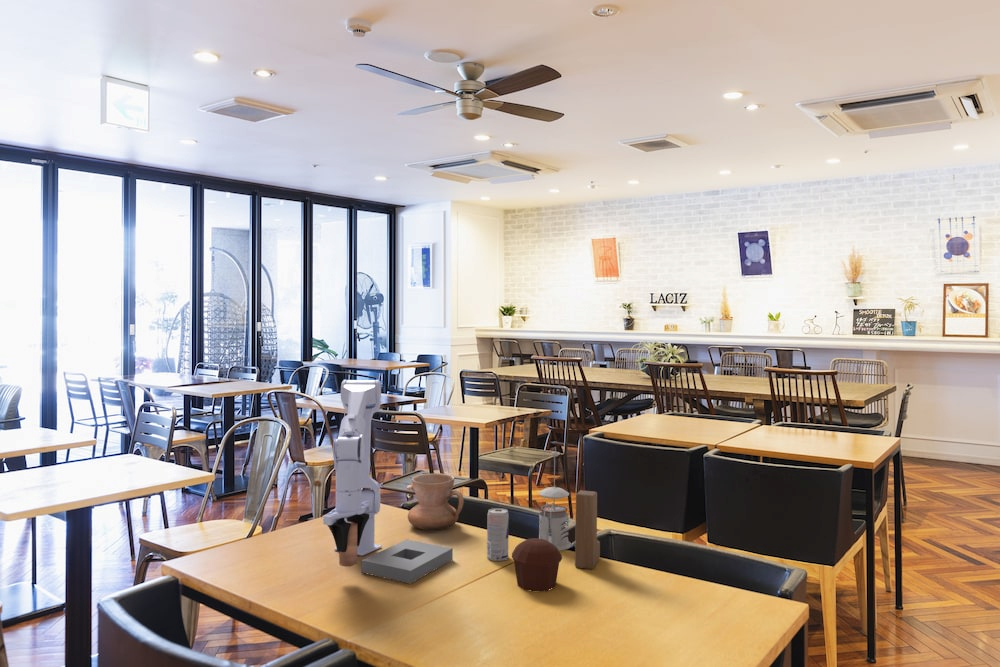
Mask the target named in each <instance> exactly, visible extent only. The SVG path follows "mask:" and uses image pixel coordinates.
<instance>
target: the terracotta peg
mask: <svg viewBox="0 0 1000 667" xmlns="http://www.w3.org/2000/svg"><path fill="white" fill-rule="evenodd" d="M348 523H351V526H350V529H349V533H348V540H347V550H346V552H339V551H338V552H339V554H338V556H339V557H338V558H339V559H338V564H339V566H340V567H348V568H349V567H354V566H356V565H357V564H358V555H357V523H356V522H348Z"/></svg>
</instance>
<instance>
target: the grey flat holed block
mask: <svg viewBox="0 0 1000 667" xmlns="http://www.w3.org/2000/svg"><path fill="white" fill-rule="evenodd" d="M453 553H454V552H453V547H450V546H448V547H447V546H442V545H439V544H438V545H437V544H434V543H433V544H432V543H427V542H422V541H421V542H420V541H417V540H411V539H405V540H404V539H403V541H400V542H398V543H396V544H394V545H391V546H390V547H388V548H385V549H382V550H381V551H379V552H376V553H374V554H372V555H370V556H368V557H365V558H363V559H362V560H361V573H362V572H363V573H362V574H364V573H368V574H367V575H369V574H373V575H376V576H375V577H378V576H380V577H379V578H382V577H385V578H384V579H387V578H388V579H387V580H391V579H393V580H392V581H395V580H397V581H396V582H400V581H402V582H401V583H404V582H407V583H406V584H409V583H411V584H412V582H413V583H414V581H415V580H416V581H418V580H419V578H420V577H422V576H424V575H425V574H427V573H429V572H431V571H432V572H434V571H435V570H434V569H436V568H438V567H440V566H441V567H443V566H445V565H447V564H448V563H450V562H452V561H453V558H454V557H453V555H454V554H453ZM451 560H452V561H451ZM446 563H447V564H446ZM444 564H445V565H444ZM442 565H443V566H442ZM441 567H440V568H441ZM438 569H439V568H438ZM433 570H434V571H433ZM436 570H437V569H436ZM432 572H431V573H432ZM429 574H430V573H429ZM373 575H372V576H373ZM427 575H428V574H427ZM425 576H426V575H425ZM425 576H424V577H425ZM422 578H423V577H422ZM417 579H418V580H417ZM420 579H421V578H420ZM416 581H415V582H416Z"/></svg>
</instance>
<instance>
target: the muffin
mask: <svg viewBox="0 0 1000 667" xmlns="http://www.w3.org/2000/svg"><path fill="white" fill-rule="evenodd" d="M560 551H561V550H558V548H557V547H556V546H555V545H553V544H552V543H550V542H549V541H547V540H544V539H539V537H537V538H536V537H535V538H533V537H532V538H527V539H525V540H523V541H521V542H519V543H518V544H517V545H516V546H515V548H514V549H513V551H512V553H511V558H512V560H513V563H514V569H515V576H516V578H515V579H516V583H517V587H519V588H521V589H522V588H523V589H524V591H528V590H531V591H530V592H533V591H540V592H549V591H550V590H549V589H551V588H553V589H555V588H556V585H557V579H558V573H559V572H558V571H559V566H560V563H561V561H562V560H563V554H562V553H561V552H560ZM554 587H555V588H554ZM523 589H522V590H523ZM548 590H549V591H548ZM551 590H552V589H551Z"/></svg>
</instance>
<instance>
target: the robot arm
mask: <svg viewBox="0 0 1000 667" xmlns="http://www.w3.org/2000/svg"><path fill="white" fill-rule="evenodd" d="M381 398H382V382H381V381H380V379H369V380H368V379H343V380H342V382H341V385H340V401H341V403H342V406H343V408H344V411H345V412H347V414H346V415H345V416H343V418H342V419H341V422H340V427H339V431H338V432H339V433H338V437H337V438H334V440H333V444H332V457H333V468H334V471H335V508H334V509H332V510H331V511H329V512H328V513H326V514H324V515H323V517H322V522H323V525H326V526H327V527H328V529H329V530H330V532H331V535H332V536H333V537H332V538H333V539H334V542H335V547H334V550H335V551H337V552H346V550H347V540H348V533H349V529H350V526H351V523H348V522H356V523H357V556H366V555H367V554H368V555H369V553H372V552H374V551H376V550H378V549H380V548H381V549H382V547H383V546H382V545H381V544H378V543H377V544H376V543H375V536H376V535H375V531H376V530H375V526H376V525H375V524H376V523H375V521H376V520H375V516H376V515H378V514H379V512H380V511H381V486H380V483H379V481H376V480H375V479H374V478H372V477H371V475H370V474H371V473H370V469H371V441H372V440H371V438H372V437H371V433H372V419H373V416H374V414H375V413H377V412H379V411H380V408H381V404H382V403H381V400H382V399H381Z"/></svg>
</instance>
